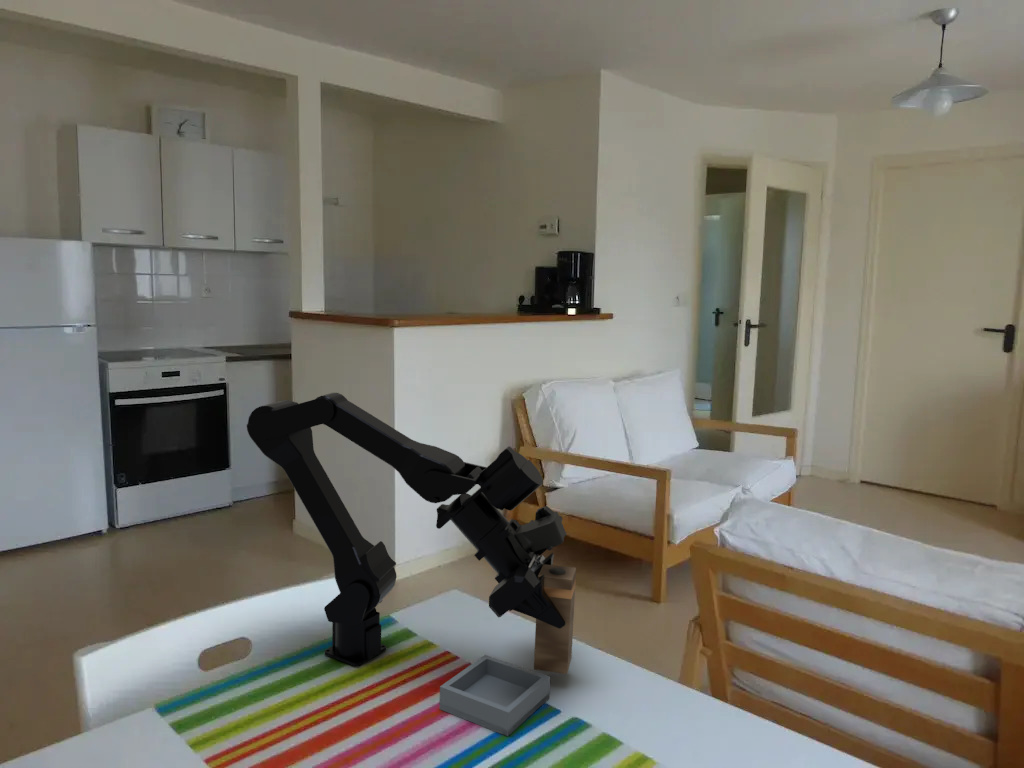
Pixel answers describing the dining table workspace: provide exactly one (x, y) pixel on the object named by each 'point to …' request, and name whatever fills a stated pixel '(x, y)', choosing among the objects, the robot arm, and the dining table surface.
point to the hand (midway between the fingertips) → (565, 618)
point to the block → (551, 640)
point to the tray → (495, 694)
